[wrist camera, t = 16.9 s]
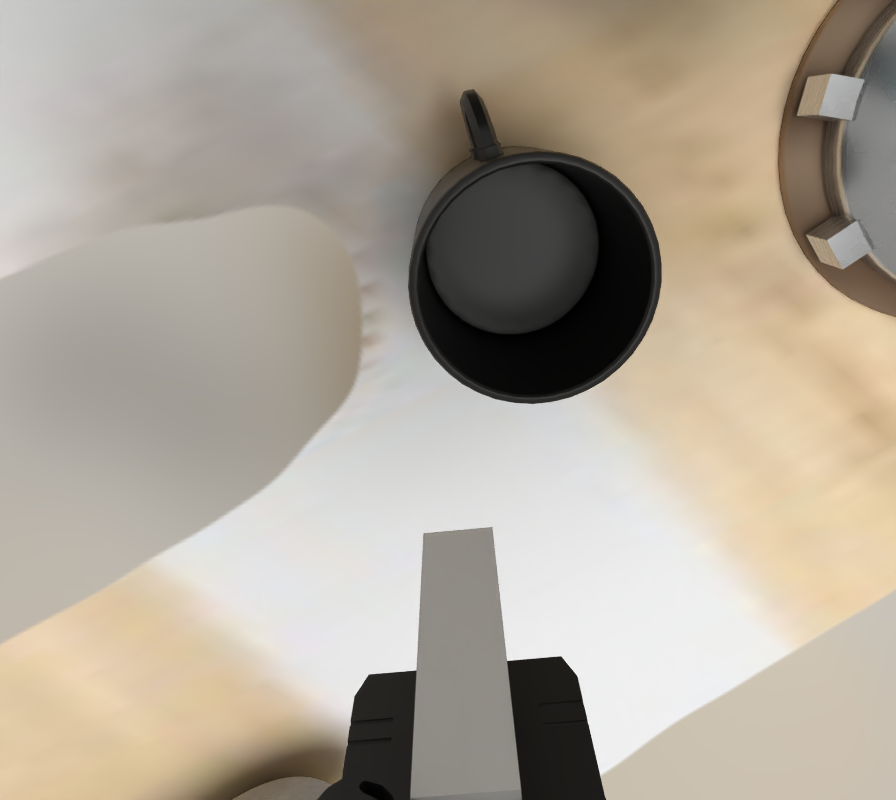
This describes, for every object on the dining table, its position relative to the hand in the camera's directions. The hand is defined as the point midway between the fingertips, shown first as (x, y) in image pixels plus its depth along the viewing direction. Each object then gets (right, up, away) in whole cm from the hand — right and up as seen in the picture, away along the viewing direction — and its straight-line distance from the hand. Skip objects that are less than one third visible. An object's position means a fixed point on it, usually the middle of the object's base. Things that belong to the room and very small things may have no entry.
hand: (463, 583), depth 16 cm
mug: (+2, +13, +19) cm, 23 cm away
